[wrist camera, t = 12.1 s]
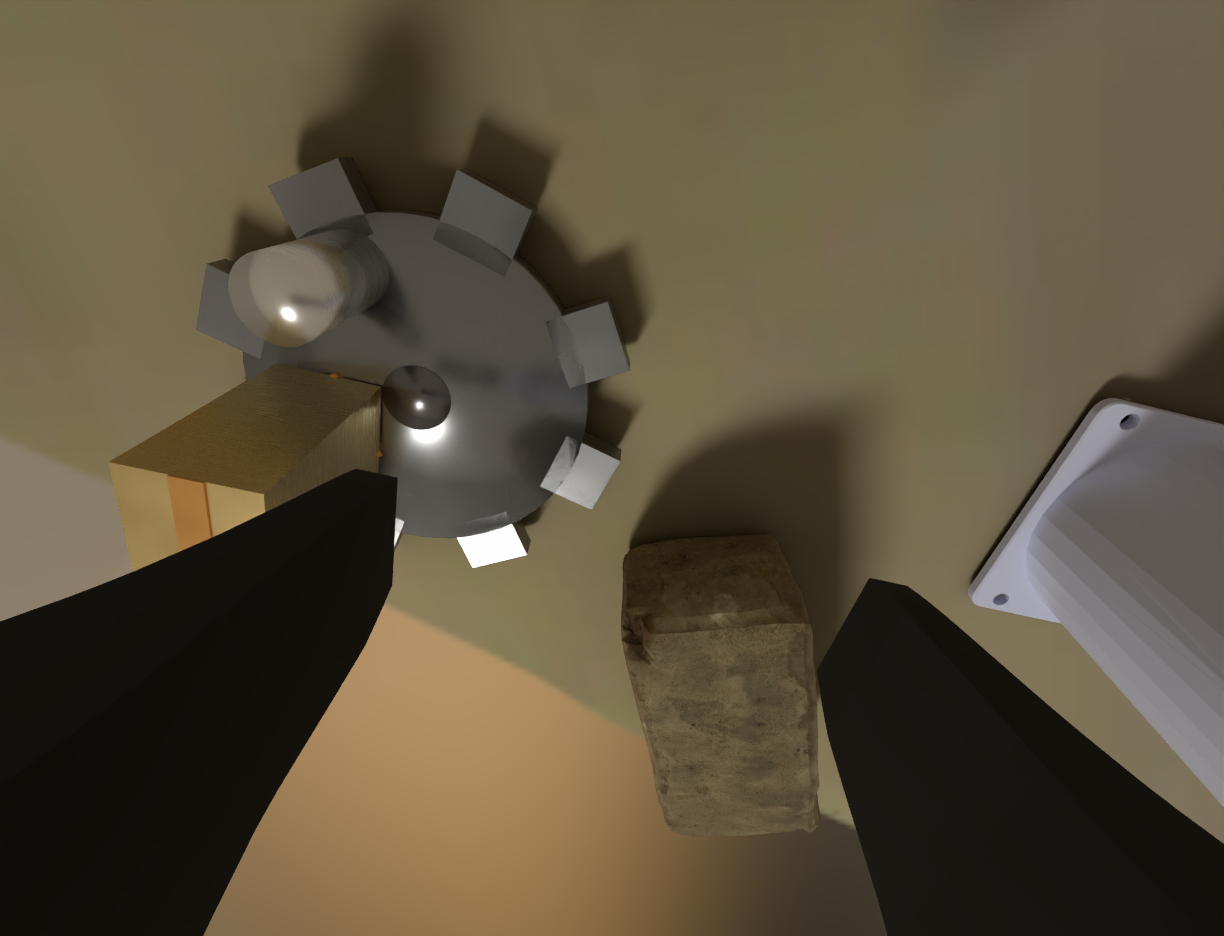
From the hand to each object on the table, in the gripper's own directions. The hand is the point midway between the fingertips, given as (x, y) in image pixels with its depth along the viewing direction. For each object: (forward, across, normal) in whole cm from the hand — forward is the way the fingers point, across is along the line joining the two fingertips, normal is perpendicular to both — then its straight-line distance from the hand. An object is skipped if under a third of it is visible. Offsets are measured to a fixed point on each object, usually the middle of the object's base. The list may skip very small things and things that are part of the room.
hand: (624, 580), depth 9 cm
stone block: (+10, -6, +10) cm, 16 cm away
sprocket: (+10, +6, +2) cm, 12 cm away
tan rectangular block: (+9, +8, +4) cm, 13 cm away
